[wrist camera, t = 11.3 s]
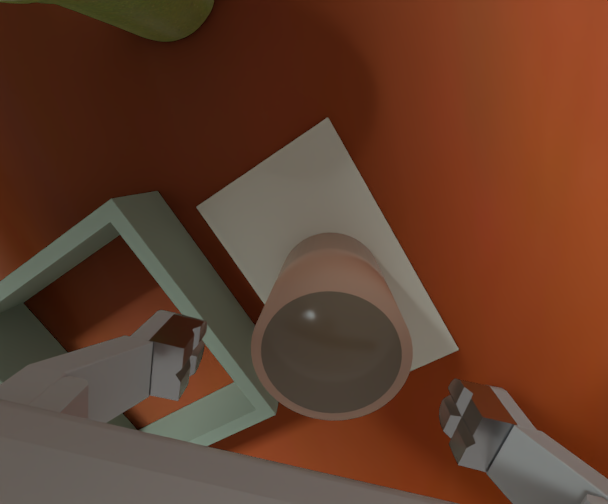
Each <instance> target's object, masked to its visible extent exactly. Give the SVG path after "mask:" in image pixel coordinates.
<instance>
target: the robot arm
mask: <svg viewBox="0 0 608 504" xmlns="http://www.w3.org/2000/svg"><path fill="white" fill-rule="evenodd" d="M206 331H207V322H206V321H205V320H201V319H197V318H193V317H189V316H185V315H181V314H176V313H174V312H169V311H165V310H158V311H157V312H156V313H155V314H154V315H153V316H152V317H151V318H149V319H148V320H147V321H146V322H145V323H144V324H143V325H142V326H141V327H140V328H139V329H137V330H136V331H135V332H134V333H133V334H132V335H131V336H130V337H129V336H122V337H118V338H115V339H112V340H108V341H105V342H102V343H99V344H95V345H92V346H89V347H85V348H82V349H79V350H75V351H72V352H69V353H65V354H62V355H59V356H55V357H52V358H49V359H46V360H42V361H39V362H36V363H32V364H29V365H27V366H26V367H24V368H23V369H22V370H20V371H19V372H17V373H16V374H14V375H13V376H12V377H10V378H9V379H7V380H6V381H4V382H3V383H2V384H0V504H458V503H454V502H450V501H445V500H441V499H436V498H432V497H428V496H423V495H419V494H415V493H410V492H406V491H402V490H397V489H393V488H388V487H384V486H380V485H375V484H371V483H366V482H362V481H358V480H353V479H349V478H344V477H340V476H336V475H331V474H327V473H322V472H318V471H313V470H309V469H305V468H300V467H296V466H291V465H287V464H283V463H278V462H274V461H269V460H265V459H261V458H256V457H252V456H247V455H243V454H239V453H234V452H230V451H226V450H221V449H217V448H212V447H208V446H204V445H199V444H195V443H191V442H186V441H182V440H177V439H173V438H169V437H164V436H160V435H156V434H151V433H147V432H142V431H138V430H134V429H129V428H125V427H121V426H116V425H112V424H107V422H108V421H110V420H112V419H113V418H115V417H117V416H118V415H120V414H121V413H123V412H125V411H126V410H128V409H130V408H131V407H133V406H135V405H136V404H138V403H139V402H141V401H143V400H144V399H146V398H148V397H149V395H151V396H156V397H161V398H166V399H171V400H176V401H178V400H179V399H180V397H181V395H182V394H183V392H184V390H185V389H186V387H187V386H188V382H189V376H191V375H193V374H195V372H196V370H197V369H198V367H199V364H200V362H201V359H202V355H203V352H204V345H205V344H204V342H203V341H202V338H203V337H204V335H205V334H206ZM448 390H449V393H450V395H449V396H447V397H446V398H444V399H443V400H442V403H441V405H440V409H439V419H440V424H441V427H442V429H443V431H444V432H445V433H446V434H447V435H448V436H449V437H450V438H451V440H450V442H449V446H450V448H451V450H452V452H453V455H454V457H455V459H456V462H457V464H458V465H460V466H464V467H468V468H472V469H476V470H479V471H483V472H487V475H488V476H489V477H490V478H491V480H492V481H493V482H494V483H495V484H496V485H497V486H498V488H499V489H500V490H501V491H502V492H503V493H504V494H505V496H506V497H507V498H508V499H509V500H510V501H511V502H512V504H608V479H607V478H606V477H604V476H603V475H602V474H600V473H599V472H597V471H596V470H595V469H593V468H592V467H590V466H589V465H588V464H586V463H585V462H584V461H582V460H581V459H579V458H578V457H577V456H575V455H574V454H573V453H571V452H570V451H568V450H567V449H566V448H564V447H563V446H562V445H560V444H559V443H557V442H556V441H555V440H553V439H552V438H551V437H549V436H548V435H546V434H545V433H544V432H542V431H538V430H536V428H535V427H534V426H533V424H532V423H531V422H530V421H529V419H528V418H527V417H526V415H525V414H524V413H523V412H522V410H521V409H520V408H519V406H518V405H517V404H516V403H515V401H514V400H513V399H512V397H511V396H510V395H509V394H508V392H507V391H506V390H504V389H503V388H500V387H495V386H490V385H483V384H478V383H474V382H469V381H464V380H460V379H454V380H453V381H452V382H451V383H450V385H449V387H448Z"/></svg>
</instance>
